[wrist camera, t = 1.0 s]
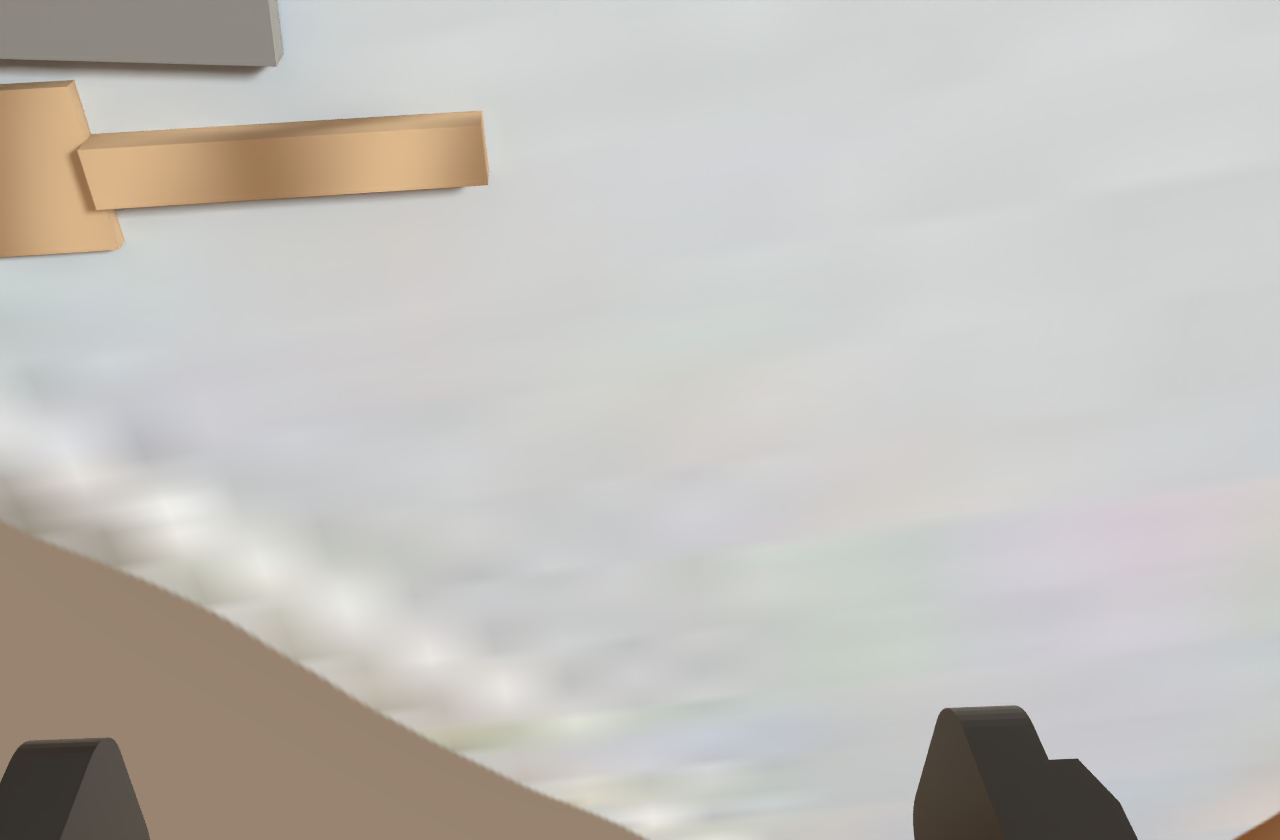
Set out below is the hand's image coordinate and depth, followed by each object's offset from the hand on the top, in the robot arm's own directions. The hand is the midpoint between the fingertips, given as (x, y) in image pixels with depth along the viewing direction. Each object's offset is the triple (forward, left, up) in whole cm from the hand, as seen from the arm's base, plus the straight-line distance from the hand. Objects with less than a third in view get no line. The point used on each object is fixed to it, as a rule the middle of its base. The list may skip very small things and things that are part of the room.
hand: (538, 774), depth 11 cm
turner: (+2, -9, -22) cm, 24 cm away
